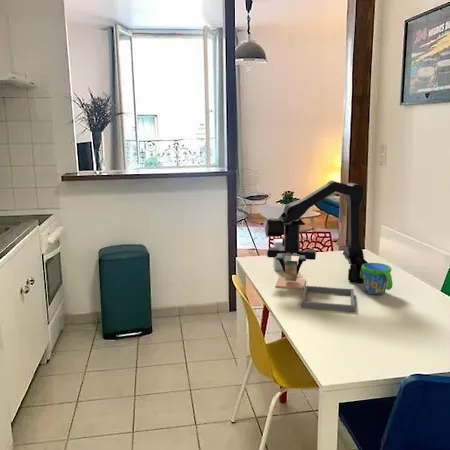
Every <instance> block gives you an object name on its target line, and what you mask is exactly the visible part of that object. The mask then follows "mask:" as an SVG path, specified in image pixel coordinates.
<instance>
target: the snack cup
mask: <svg viewBox="0 0 450 450" xmlns="http://www.w3.org/2000/svg"><path fill="white" fill-rule="evenodd" d="M391 273H392V267H391V266H390V265H387V264H386V263H385V264H384V263H379V262H368V263H365V264H363V265H362V267H361V271H360V278H363V279H364V284H363V288H364V291H365V292H366V293H367V294H370V295H372V296H373V295H375V296H379V295H380V296H381V295H383V294H385V293H386V291H389V290H391V289H393V278H392V274H391Z"/></svg>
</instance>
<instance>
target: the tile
mask: <svg viewBox="0 0 450 450" xmlns="http://www.w3.org/2000/svg"><path fill="white" fill-rule="evenodd" d="M306 282H307V279H306V278H297V280H296V281H285V277H281V276H280V277H278V279H277V281H276V283H275V288H281V289H295V290H304V287H305V286H306V285H305V284H306Z"/></svg>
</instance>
